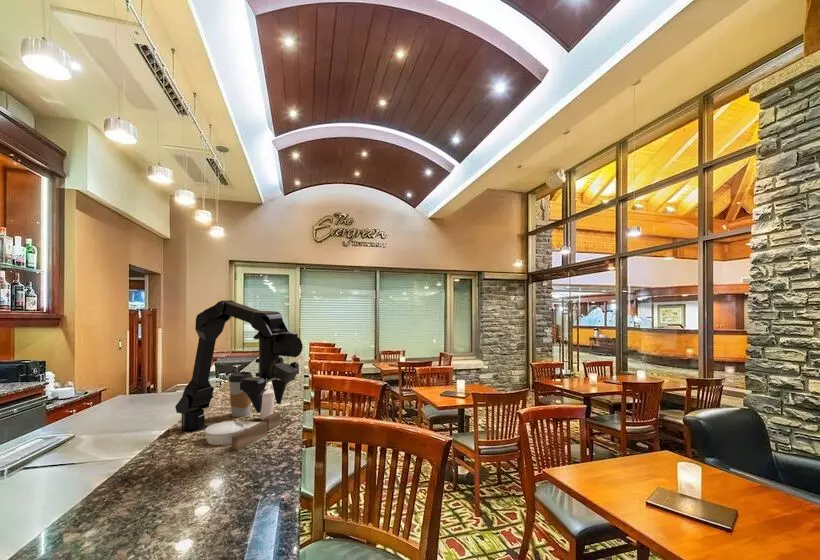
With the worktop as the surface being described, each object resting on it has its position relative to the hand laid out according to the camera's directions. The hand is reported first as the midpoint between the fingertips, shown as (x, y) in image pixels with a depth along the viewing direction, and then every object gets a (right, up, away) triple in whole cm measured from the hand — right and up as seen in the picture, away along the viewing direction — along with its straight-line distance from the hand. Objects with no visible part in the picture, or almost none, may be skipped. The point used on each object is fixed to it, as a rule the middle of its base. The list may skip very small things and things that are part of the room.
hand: (269, 407), depth 121 cm
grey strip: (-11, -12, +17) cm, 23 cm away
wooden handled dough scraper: (-13, -11, +4) cm, 18 cm away
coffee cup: (-21, -12, +31) cm, 39 cm away
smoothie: (-10, -12, +26) cm, 30 cm away
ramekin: (-15, -13, +4) cm, 20 cm away
